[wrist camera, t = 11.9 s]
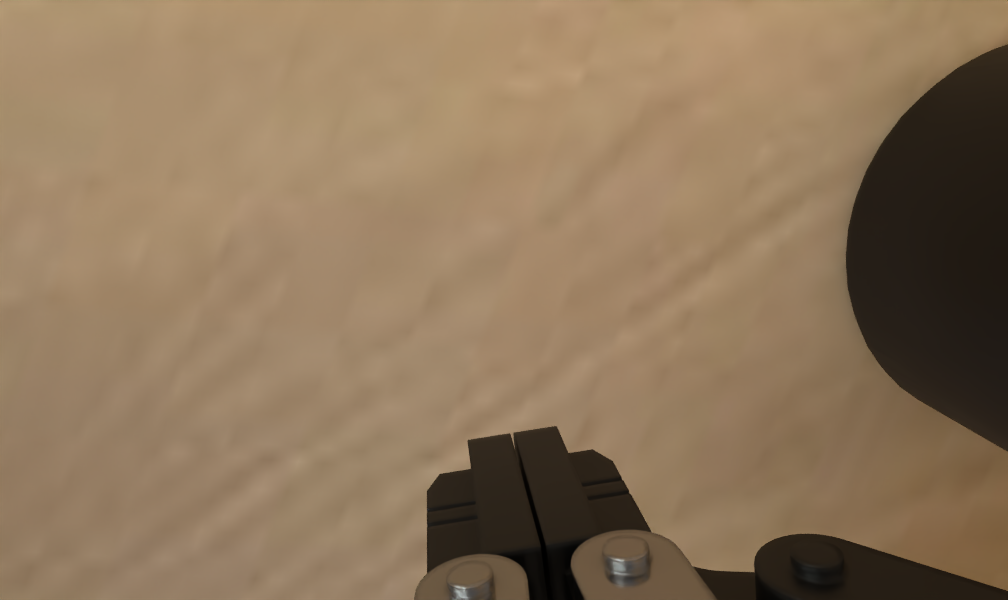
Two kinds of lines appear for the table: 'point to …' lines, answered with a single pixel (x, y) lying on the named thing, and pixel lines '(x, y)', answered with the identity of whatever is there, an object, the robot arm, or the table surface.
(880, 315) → the mug
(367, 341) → the table surface
